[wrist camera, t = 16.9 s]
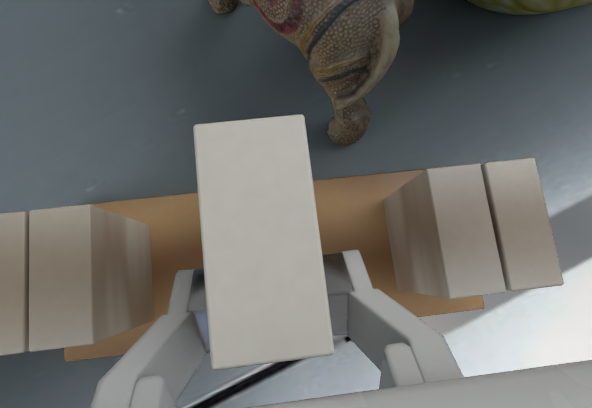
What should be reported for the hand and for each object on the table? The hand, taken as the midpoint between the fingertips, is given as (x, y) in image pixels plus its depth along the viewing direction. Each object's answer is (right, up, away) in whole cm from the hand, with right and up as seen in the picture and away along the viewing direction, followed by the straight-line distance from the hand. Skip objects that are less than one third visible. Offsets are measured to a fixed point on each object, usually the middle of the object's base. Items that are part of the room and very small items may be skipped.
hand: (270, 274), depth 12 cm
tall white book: (0, 0, +6) cm, 6 cm away
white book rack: (-1, -1, +10) cm, 10 cm away
